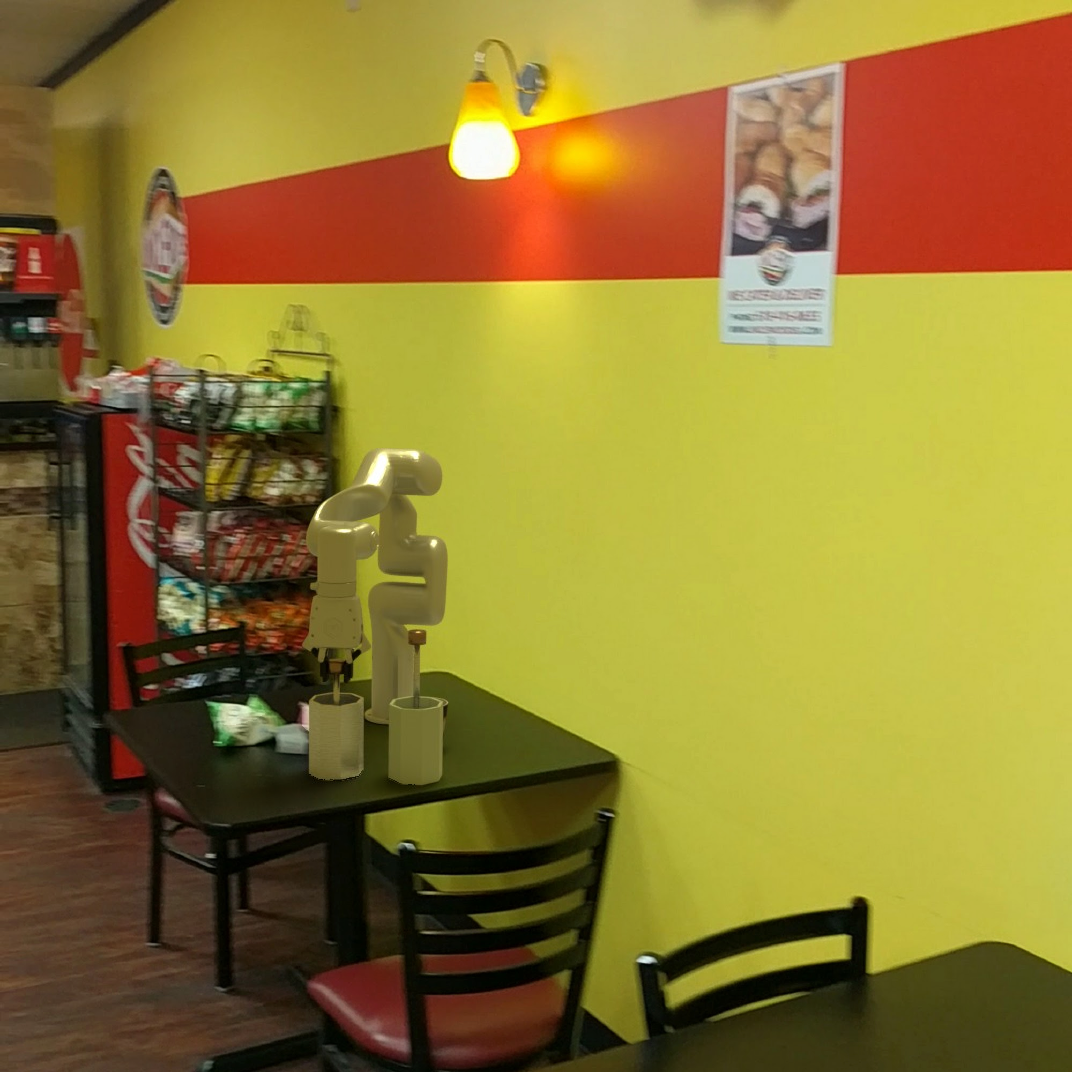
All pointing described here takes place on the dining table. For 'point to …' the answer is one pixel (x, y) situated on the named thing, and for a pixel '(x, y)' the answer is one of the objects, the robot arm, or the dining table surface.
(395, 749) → the cup
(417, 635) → the sage plunger
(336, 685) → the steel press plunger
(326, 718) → the beige tall hollow piece
